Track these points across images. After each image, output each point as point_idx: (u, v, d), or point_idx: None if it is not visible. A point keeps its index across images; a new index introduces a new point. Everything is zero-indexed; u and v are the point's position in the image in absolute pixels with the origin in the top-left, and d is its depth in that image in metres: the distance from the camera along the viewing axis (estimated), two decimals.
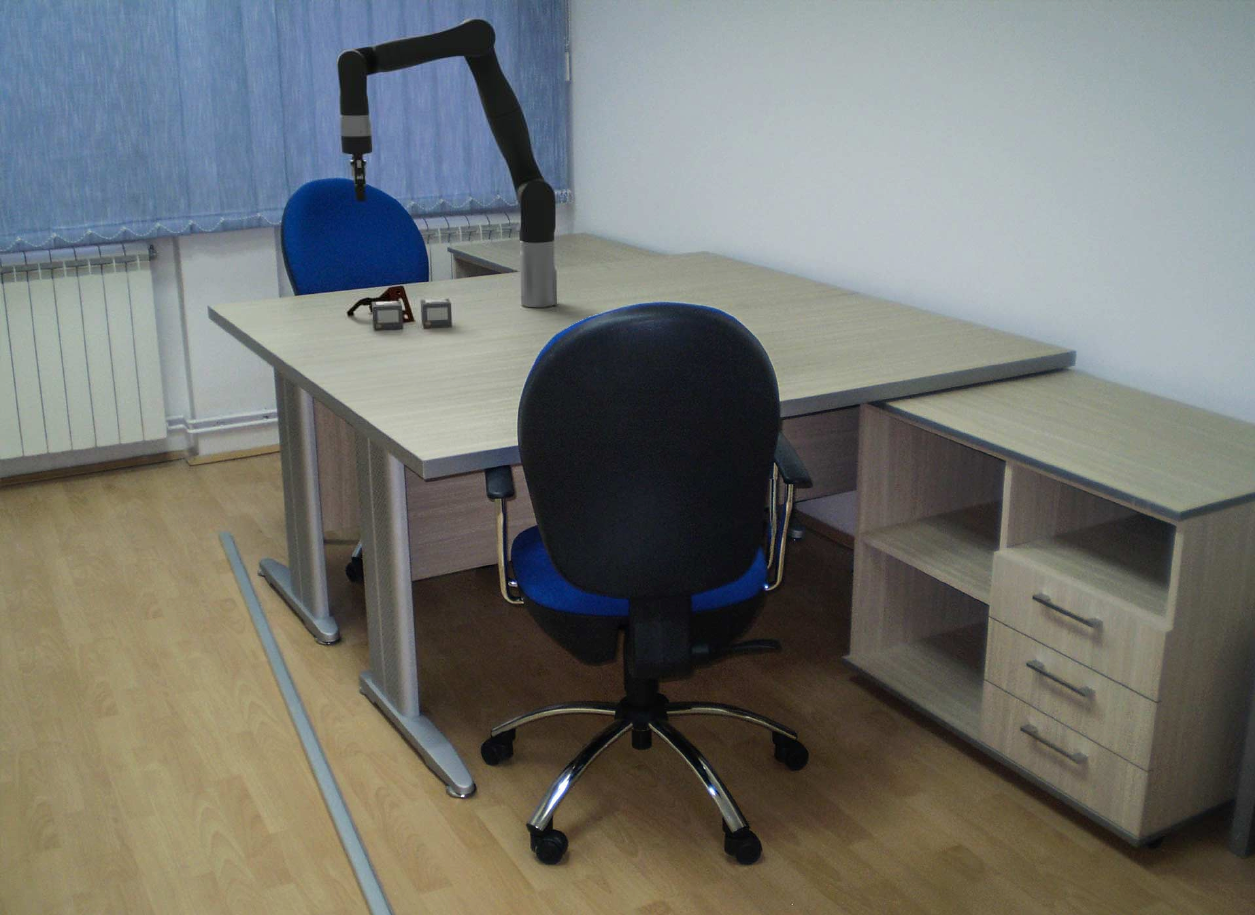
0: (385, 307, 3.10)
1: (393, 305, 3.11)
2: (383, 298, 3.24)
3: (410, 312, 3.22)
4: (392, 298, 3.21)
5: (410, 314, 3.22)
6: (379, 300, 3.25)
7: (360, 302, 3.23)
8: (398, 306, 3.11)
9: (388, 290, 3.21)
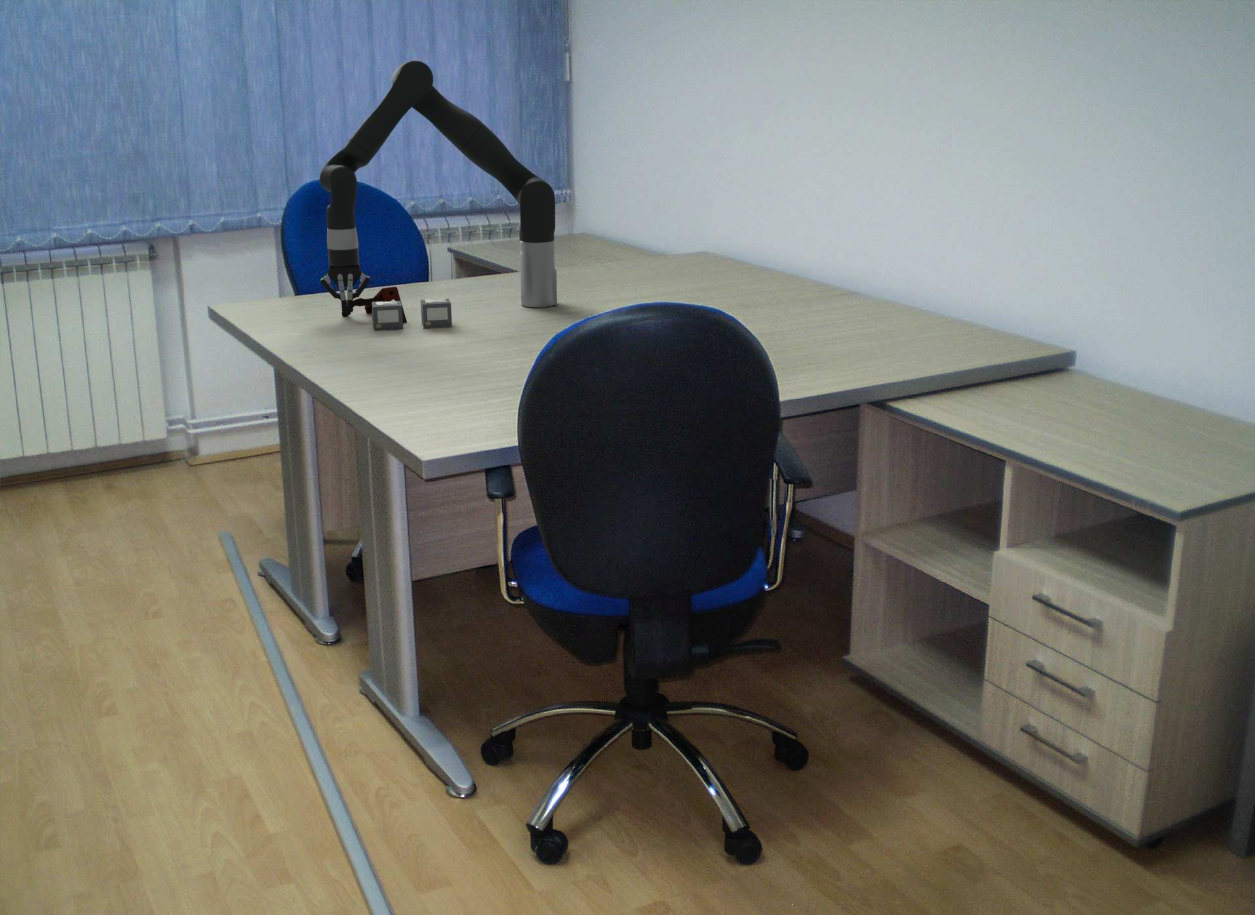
0: (385, 307, 3.10)
1: (393, 305, 3.11)
2: (377, 299, 3.23)
3: (403, 313, 3.20)
4: (385, 299, 3.19)
5: (402, 315, 3.20)
6: (373, 301, 3.24)
7: (353, 303, 3.21)
8: (398, 306, 3.11)
9: (381, 291, 3.20)
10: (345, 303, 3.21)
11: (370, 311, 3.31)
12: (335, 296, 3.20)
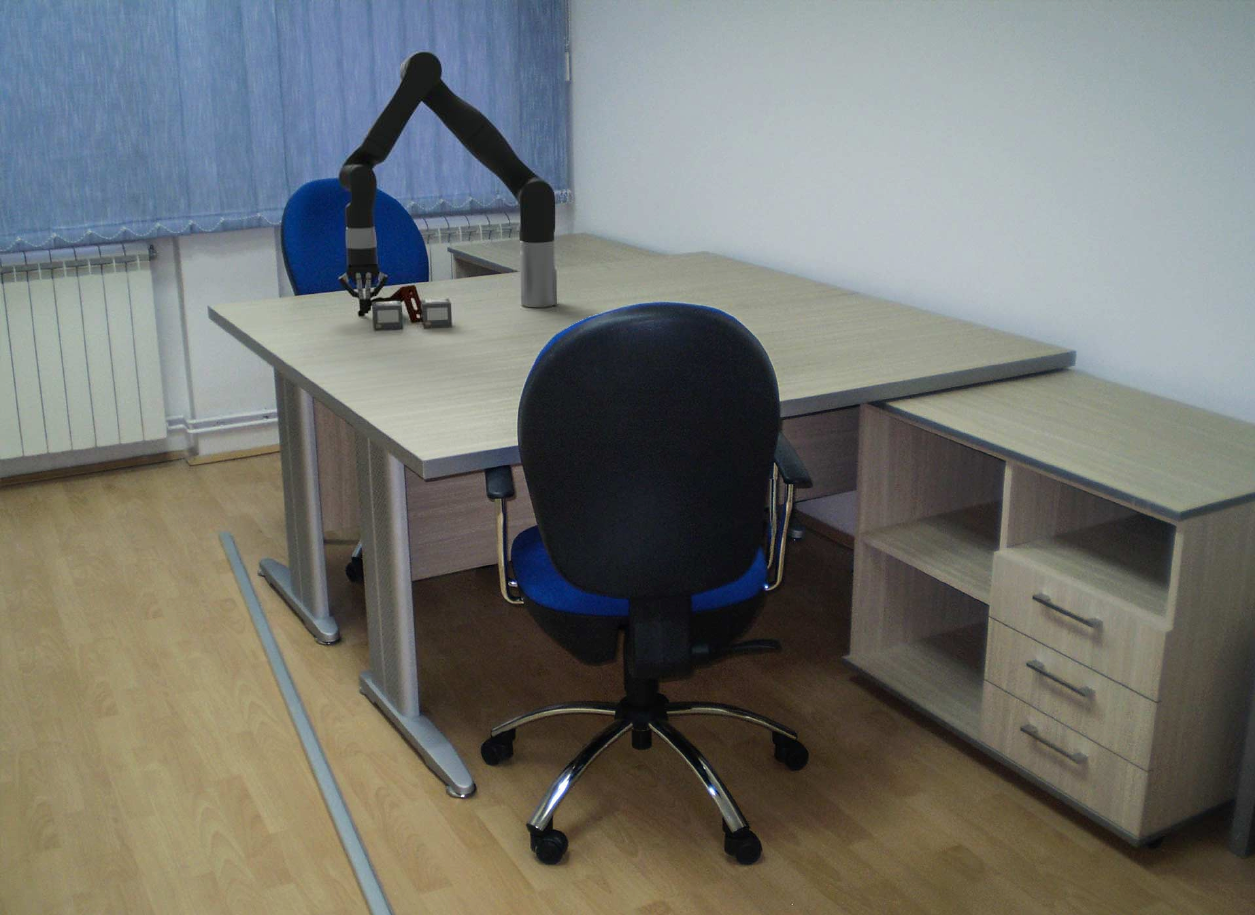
0: (385, 307, 3.10)
1: (393, 305, 3.11)
2: (395, 298, 3.24)
3: None
4: (404, 298, 3.21)
5: None
6: (390, 300, 3.25)
7: None
8: (398, 306, 3.11)
9: (400, 290, 3.21)
10: (363, 302, 3.22)
11: None
12: (353, 295, 3.21)
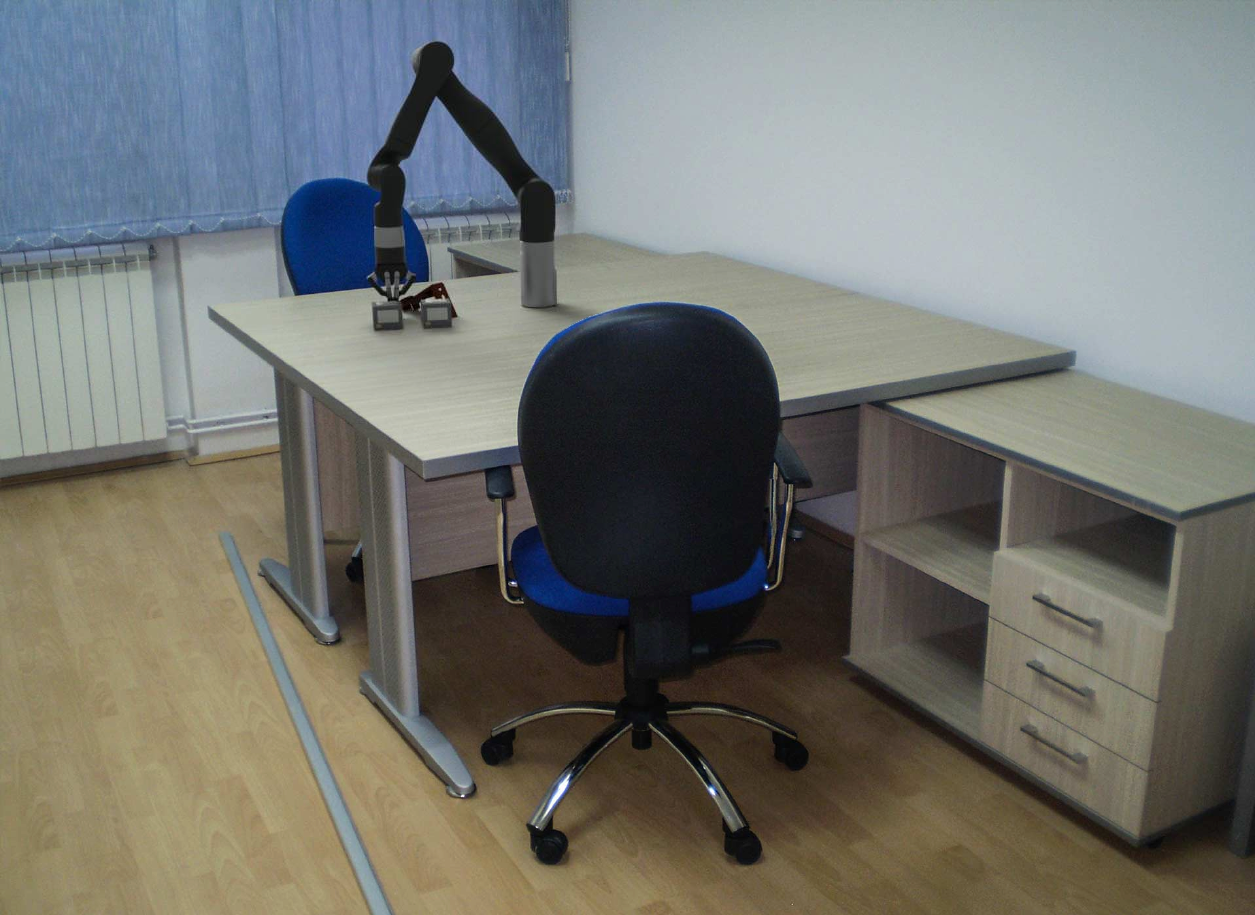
0: (385, 307, 3.10)
1: (393, 305, 3.11)
2: (422, 296, 3.27)
3: (453, 308, 3.27)
4: (435, 295, 3.24)
5: (453, 310, 3.27)
6: (418, 298, 3.28)
7: (402, 301, 3.24)
8: (398, 306, 3.11)
9: (430, 287, 3.25)
10: (391, 300, 3.24)
11: (406, 309, 3.35)
12: (382, 293, 3.23)
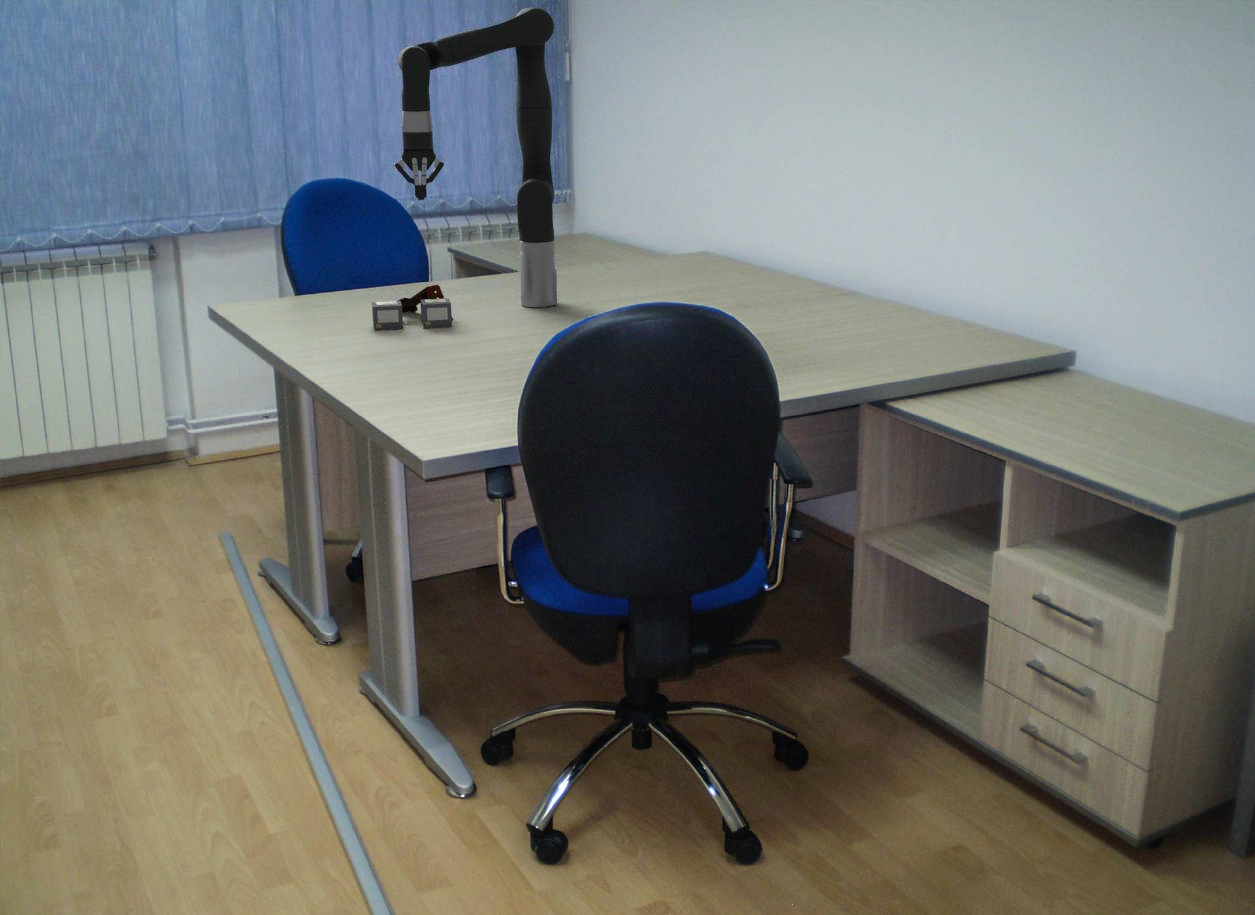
0: (385, 307, 3.10)
1: (393, 305, 3.11)
2: (418, 298, 3.24)
3: None
4: (430, 297, 3.21)
5: None
6: (414, 300, 3.25)
7: None
8: (398, 306, 3.11)
9: (425, 290, 3.22)
10: (419, 188, 3.22)
11: (403, 311, 3.32)
12: (409, 180, 3.21)
